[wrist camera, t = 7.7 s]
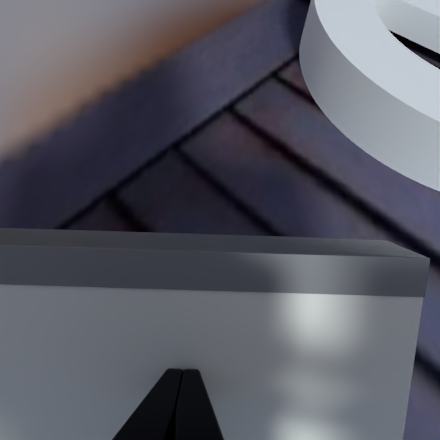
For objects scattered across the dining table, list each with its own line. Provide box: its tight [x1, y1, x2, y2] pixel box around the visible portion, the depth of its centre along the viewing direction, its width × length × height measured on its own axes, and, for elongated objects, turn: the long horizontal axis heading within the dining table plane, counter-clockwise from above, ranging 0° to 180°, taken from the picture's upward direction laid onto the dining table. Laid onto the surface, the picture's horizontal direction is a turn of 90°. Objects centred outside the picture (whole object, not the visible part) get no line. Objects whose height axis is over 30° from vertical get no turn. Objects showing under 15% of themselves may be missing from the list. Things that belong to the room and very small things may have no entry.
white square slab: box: [0, 228, 430, 440], centre depth 9 cm, size 2×12×12 cm
